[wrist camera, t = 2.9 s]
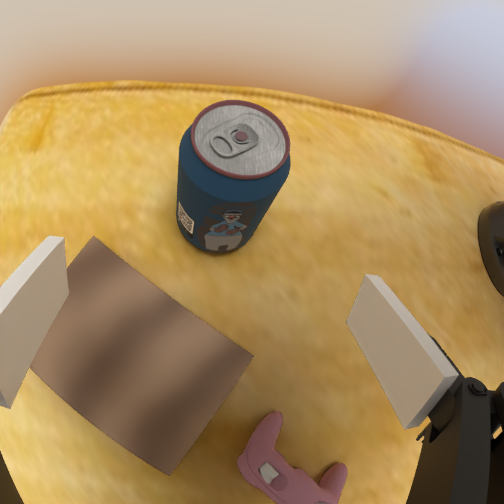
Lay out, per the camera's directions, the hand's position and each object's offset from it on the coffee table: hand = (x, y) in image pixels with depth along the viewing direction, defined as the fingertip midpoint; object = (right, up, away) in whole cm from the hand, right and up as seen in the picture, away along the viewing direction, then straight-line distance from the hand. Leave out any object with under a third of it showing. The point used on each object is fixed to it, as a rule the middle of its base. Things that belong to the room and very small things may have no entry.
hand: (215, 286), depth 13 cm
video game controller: (+4, -17, +10) cm, 20 cm away
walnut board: (-8, -7, +10) cm, 15 cm away
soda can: (-2, +4, +15) cm, 16 cm away
